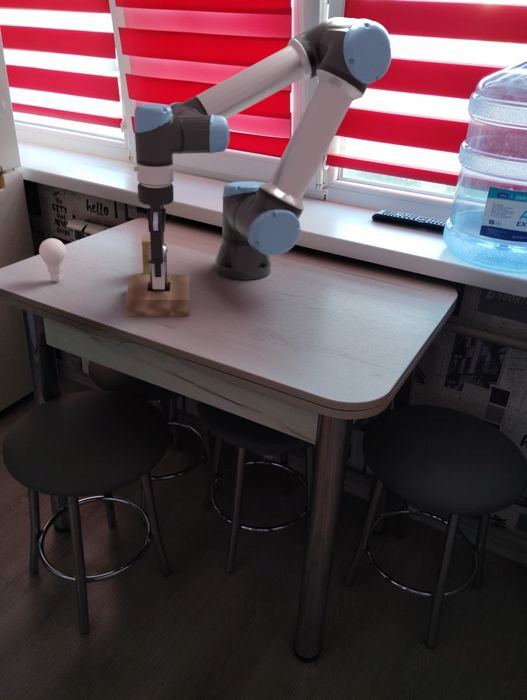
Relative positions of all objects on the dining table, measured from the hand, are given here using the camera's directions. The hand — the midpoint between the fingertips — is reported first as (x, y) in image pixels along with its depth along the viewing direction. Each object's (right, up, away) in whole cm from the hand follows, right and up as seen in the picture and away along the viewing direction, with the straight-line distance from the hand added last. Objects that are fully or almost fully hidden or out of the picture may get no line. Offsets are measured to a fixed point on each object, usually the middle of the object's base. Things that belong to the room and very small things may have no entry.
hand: (159, 284), depth 137 cm
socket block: (0, -4, +2) cm, 5 cm away
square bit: (-5, +4, +15) cm, 16 cm away
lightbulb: (-27, +1, +9) cm, 28 cm away
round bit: (0, -2, +1) cm, 3 cm away
